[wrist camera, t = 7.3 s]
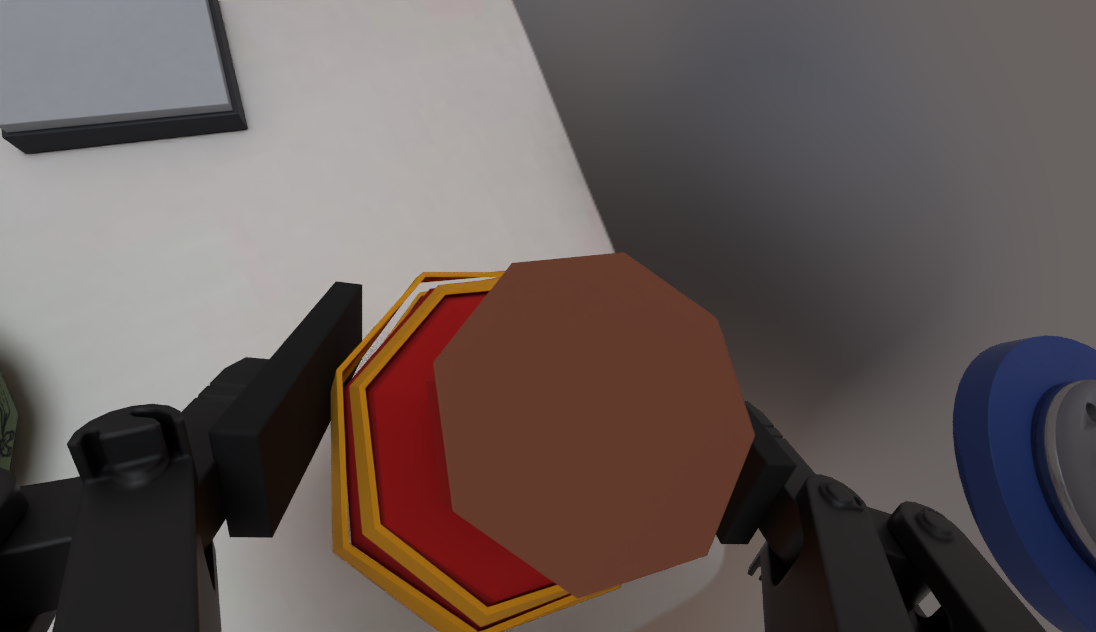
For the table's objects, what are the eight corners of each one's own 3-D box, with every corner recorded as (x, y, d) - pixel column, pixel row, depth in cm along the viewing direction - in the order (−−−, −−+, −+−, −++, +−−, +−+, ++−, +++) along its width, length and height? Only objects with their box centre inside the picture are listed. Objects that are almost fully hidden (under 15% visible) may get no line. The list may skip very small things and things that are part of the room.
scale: (218, -1, 24) (203, -31, 22) (247, 129, 22) (233, 106, 20) (10, 4, 21) (-23, -29, 19) (24, 154, 19) (-11, 129, 18)
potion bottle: (637, 466, 20) (1063, 500, 6) (447, 624, 16) (442, 1564, 3) (520, 289, 22) (651, -6, 8) (321, 399, 18) (-122, 220, 4)
